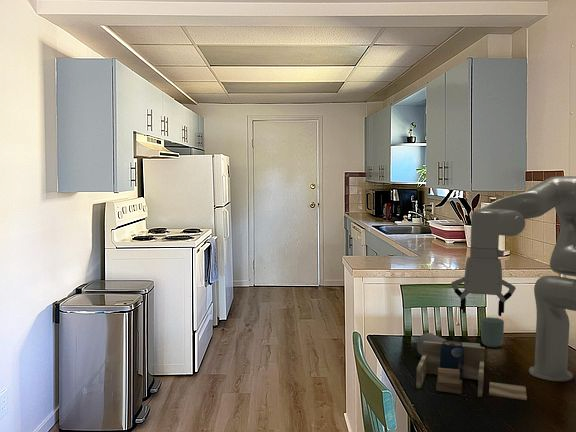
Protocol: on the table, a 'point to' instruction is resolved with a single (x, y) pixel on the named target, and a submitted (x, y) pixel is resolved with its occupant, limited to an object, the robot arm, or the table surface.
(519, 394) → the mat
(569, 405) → the table surface
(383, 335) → the table surface
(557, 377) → the robot arm
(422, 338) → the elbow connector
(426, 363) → the rack
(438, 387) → the offcut walnut
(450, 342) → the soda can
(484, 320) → the cup
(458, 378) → the offcut oak
